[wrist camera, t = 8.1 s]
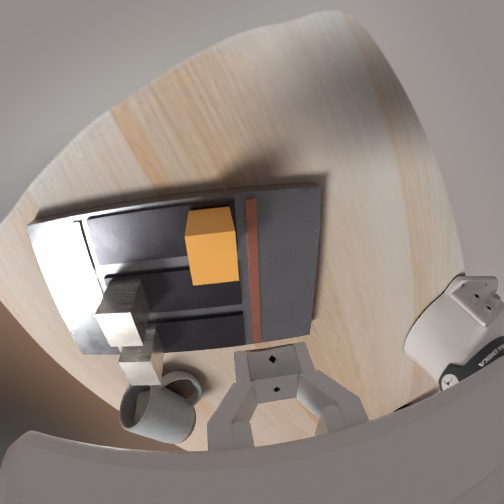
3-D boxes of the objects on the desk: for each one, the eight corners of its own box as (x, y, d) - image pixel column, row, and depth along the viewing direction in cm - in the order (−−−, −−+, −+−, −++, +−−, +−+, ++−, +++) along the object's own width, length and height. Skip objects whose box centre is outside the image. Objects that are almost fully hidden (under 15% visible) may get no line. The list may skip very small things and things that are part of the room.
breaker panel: (314, 182, 23) (349, 208, 17) (305, 324, 31) (324, 367, 25) (34, 219, 20) (-3, 252, 14) (86, 344, 28) (72, 386, 22)
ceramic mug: (167, 411, 36) (167, 454, 29) (121, 388, 32) (114, 434, 25) (215, 383, 34) (221, 432, 27) (166, 355, 30) (164, 409, 23)
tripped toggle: (229, 206, 20) (235, 231, 17) (232, 248, 22) (239, 280, 18) (188, 210, 20) (184, 236, 16) (194, 252, 22) (193, 285, 18)
